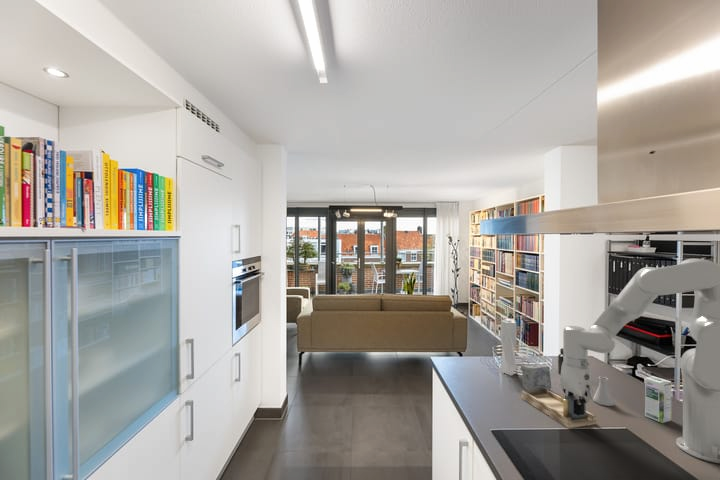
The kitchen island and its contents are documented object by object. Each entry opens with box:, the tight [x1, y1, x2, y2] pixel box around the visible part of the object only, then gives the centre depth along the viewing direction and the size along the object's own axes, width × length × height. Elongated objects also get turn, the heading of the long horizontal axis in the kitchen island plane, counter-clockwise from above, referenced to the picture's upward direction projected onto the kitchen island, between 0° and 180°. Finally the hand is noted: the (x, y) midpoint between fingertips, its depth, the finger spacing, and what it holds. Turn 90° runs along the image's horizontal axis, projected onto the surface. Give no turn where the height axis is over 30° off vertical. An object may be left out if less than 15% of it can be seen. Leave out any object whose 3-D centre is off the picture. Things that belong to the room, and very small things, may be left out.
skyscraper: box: [500, 315, 518, 376], centre depth 173 cm, size 8×8×28 cm
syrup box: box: [644, 375, 672, 424], centre depth 129 cm, size 6×6×14 cm
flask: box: [592, 376, 615, 407], centre depth 141 cm, size 7×7×10 cm
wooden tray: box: [520, 385, 597, 429], centre depth 135 cm, size 24×12×9 cm, turn 14°
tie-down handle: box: [564, 394, 588, 420], centre depth 126 cm, size 3×8×7 cm, turn 104°
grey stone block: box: [520, 362, 552, 390], centre depth 155 cm, size 10×8×10 cm
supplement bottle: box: [557, 348, 563, 375], centre depth 172 cm, size 7×7×12 cm
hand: (575, 411), depth 126 cm, fingers closed on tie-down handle, 3 cm apart
